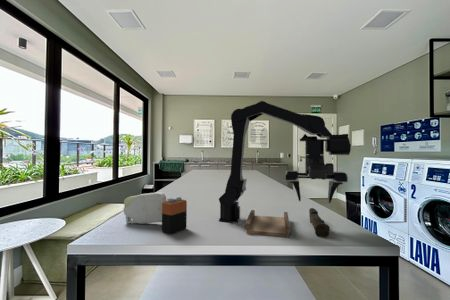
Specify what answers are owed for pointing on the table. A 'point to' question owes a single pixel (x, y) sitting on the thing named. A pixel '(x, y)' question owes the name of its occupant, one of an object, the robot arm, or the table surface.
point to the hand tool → (318, 224)
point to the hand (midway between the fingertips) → (314, 202)
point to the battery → (174, 215)
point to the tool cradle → (267, 225)
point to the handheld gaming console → (144, 208)
